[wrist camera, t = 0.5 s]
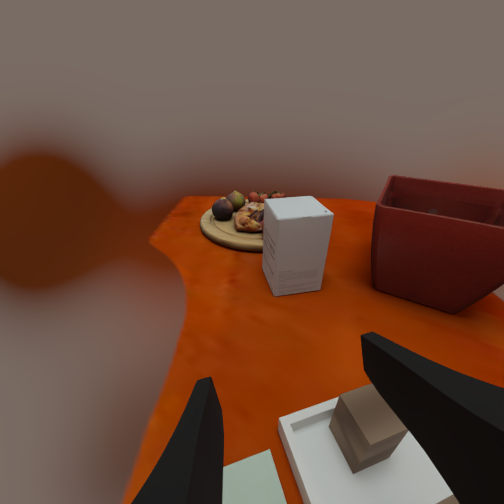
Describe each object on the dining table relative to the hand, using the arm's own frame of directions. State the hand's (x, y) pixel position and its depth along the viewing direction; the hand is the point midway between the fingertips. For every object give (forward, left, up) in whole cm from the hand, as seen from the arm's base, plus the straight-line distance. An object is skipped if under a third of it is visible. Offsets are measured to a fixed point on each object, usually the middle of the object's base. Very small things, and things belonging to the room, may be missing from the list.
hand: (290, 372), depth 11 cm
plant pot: (+20, -37, -19) cm, 46 cm away
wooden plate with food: (+53, -17, -19) cm, 59 cm away
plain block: (+1, -10, -18) cm, 20 cm away
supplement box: (+28, -15, -19) cm, 37 cm away
